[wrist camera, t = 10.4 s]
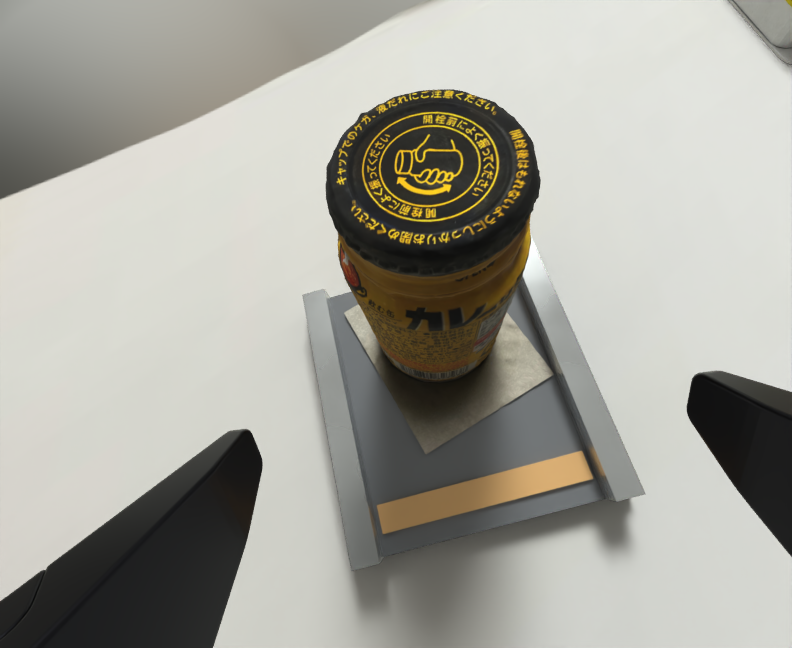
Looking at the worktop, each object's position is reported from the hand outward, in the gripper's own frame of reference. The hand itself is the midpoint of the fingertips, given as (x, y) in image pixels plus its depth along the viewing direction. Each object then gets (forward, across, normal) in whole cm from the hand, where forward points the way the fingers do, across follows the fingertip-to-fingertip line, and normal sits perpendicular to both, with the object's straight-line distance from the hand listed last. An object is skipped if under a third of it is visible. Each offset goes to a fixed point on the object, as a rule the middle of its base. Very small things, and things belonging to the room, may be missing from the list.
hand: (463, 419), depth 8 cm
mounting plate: (+10, 0, +7) cm, 12 cm away
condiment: (+12, 0, +4) cm, 12 cm away
